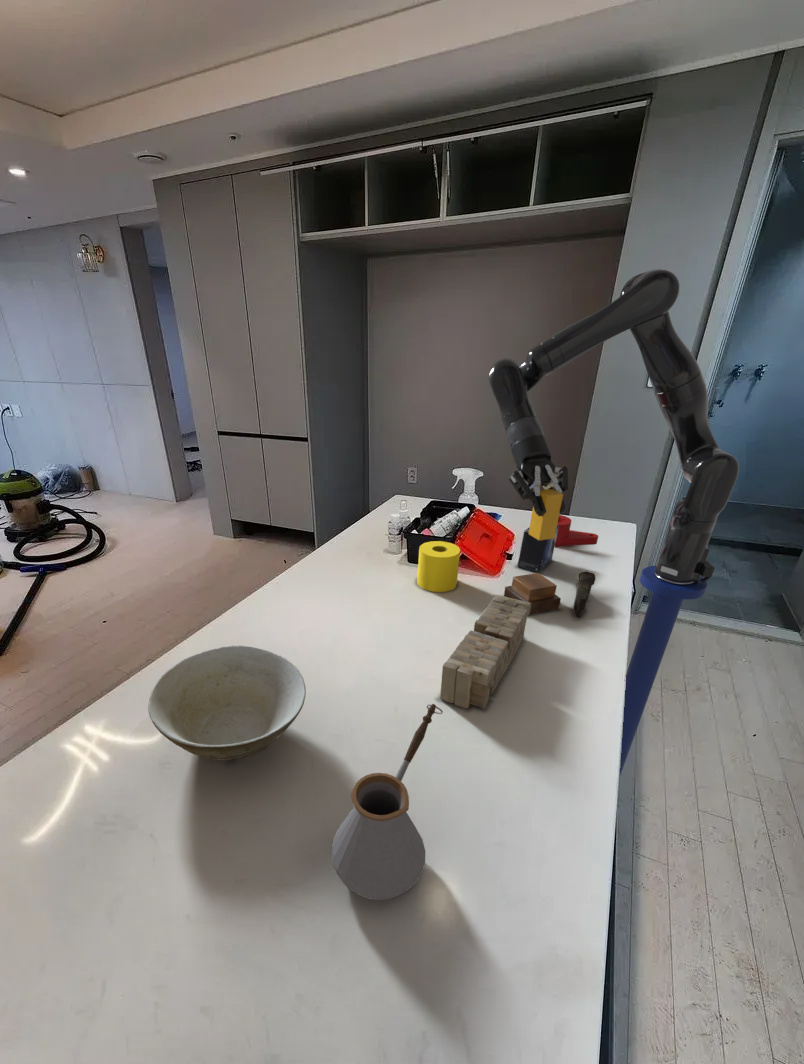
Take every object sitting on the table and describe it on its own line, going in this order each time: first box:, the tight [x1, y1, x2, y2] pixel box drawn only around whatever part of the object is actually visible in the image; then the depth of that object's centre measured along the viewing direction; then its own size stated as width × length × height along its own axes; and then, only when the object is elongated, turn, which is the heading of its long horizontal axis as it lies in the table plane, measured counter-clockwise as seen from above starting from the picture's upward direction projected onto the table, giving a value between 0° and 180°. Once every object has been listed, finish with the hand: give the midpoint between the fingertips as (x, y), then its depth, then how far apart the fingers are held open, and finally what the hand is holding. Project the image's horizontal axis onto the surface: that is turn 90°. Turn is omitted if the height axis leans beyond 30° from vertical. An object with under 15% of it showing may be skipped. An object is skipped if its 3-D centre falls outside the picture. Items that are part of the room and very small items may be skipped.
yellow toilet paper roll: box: [416, 540, 461, 593], centre depth 128 cm, size 10×10×9 cm
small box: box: [516, 525, 559, 573], centre depth 138 cm, size 11×6×10 cm, turn 143°
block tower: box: [439, 594, 531, 709], centre depth 98 cm, size 8×8×29 cm
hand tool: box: [573, 570, 596, 619], centre depth 121 cm, size 19×4×5 cm, turn 151°
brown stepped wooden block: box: [503, 572, 562, 616], centre depth 119 cm, size 9×9×6 cm
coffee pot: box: [330, 703, 444, 901], centre depth 63 cm, size 21×12×15 cm, turn 149°
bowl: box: [147, 645, 307, 761], centre depth 81 cm, size 24×24×10 cm
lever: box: [555, 514, 599, 547], centre depth 153 cm, size 18×9×7 cm, turn 80°
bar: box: [528, 488, 564, 540], centre depth 111 cm, size 4×4×10 cm
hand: (551, 513), depth 108 cm, fingers closed on bar, 4 cm apart
